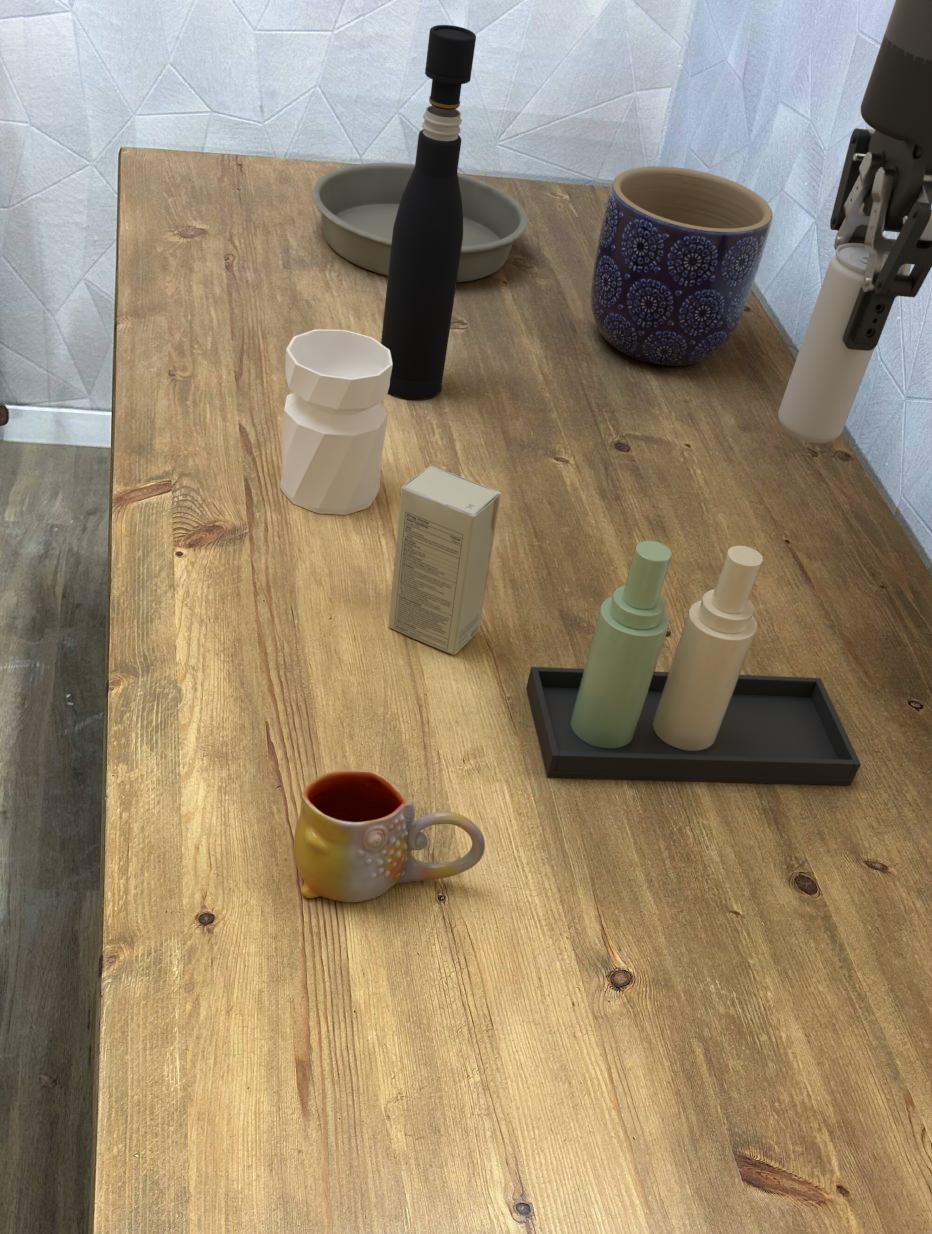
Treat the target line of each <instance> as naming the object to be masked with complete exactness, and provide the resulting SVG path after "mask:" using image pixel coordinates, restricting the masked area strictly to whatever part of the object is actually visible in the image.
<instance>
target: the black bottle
mask: <svg viewBox="0 0 932 1234" xmlns="http://www.w3.org/2000/svg"><path fill="white" fill-rule="evenodd" d="M476 40H477V35H476V34H475V32H473V31H471V30H470V29H467V28H465V27H461V26H457V25H450V24H437V25H434V26H432V27H430V29H429V35H428V42H427V43H428V44H427V52H426V61H425V70H424V74H425V76H426V77H427V78H428V79H430V80H431V87H430V88H431V89H430V96H429V98H428V99H429V100H428V102H429V104H430V105H428V106H427V107H425V112H424V113H423V114H422V118H423V119H424V121H423V122H422V124H421V127H422V129H421V130H420V131H419V132H418V136H417V146H416V155H415V164H414V165H415V167H414V169H413V172H412V174H411V176H410V178H409V181H408V183H407V185H406V188H405V190H404V192H403V195H402V198H401V201H400V204H399V208H398V211H397V215H396V219H395V223H394V227H393V234H392V244H391V253H390V263H389V272H388V276H387V283H386V292H385V301H384V310H383V311H384V312H383V318H382V319H383V321H382V329H381V338H380V343H381V344H382V345H383V346H385V347H386V348H388V349H389V350H390V353H391V358H392V363H393V366H392V371H391V377H390V386H389V390H388V393H387V394H388V395H389V394H390V395H391V396H394V397H396V398H400V399H406V400H411V401H415V400H416V401H423V400H428V399H432V398H434V397H436V396H438V395H439V394H440V392H441V391H442V386H443V380H444V373H445V366H446V359H447V353H448V352H447V351H448V345H449V337H450V331H451V324H452V316H453V311H454V302H455V296H456V289H457V283H456V282H457V275H458V268H459V262H460V255H461V248H462V241H463V206H462V198H461V192H460V186H459V180H458V174H457V173H458V170H459V169H458V168H459V163H460V156H461V155H460V154H461V147H462V137H461V136H460V133H461V130H462V129H461V127H460V125H462V121H463V120H462V117H461V116H462V115H461V114H462V113H461V111H459V110H458V108H459V107H460V105H461V93H462V85H465V84H468V83H470V82H471V77H472V72H473V71H472V70H473V62H474V56H475V49H476V42H477V41H476Z"/></svg>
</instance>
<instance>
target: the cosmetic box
mask: <svg viewBox="0 0 932 1234" xmlns="http://www.w3.org/2000/svg"><path fill="white" fill-rule="evenodd" d="M501 494H502V493H501V492H500V491H498V490H497V489H494V488H491V487H488V486H486V485H484V484H482V483H478V482H476V481H473V480H471V479H469V478H466V477H463V476H461V475H457V474H455V473H452V472H449V471H447V470H444V469H441V468H439V467H436V466H434V465H429V466H428V467H426V468H425V469H424V470H422V471H420V472H419V473H418V474H416V475H415V476H413V477H412V478H411V479H410V480H408V481H407V482H405V483H404V484H403V485H402V486H401V492H400V500H399V501H400V502H399V511H398V512H399V513H398V521H397V532H396V543H395V552H394V562H393V563H394V564H393V574H392V584H391V593H390V603H389V613H388V624H387V625H388V628H390V629H391V630H393V631H395V632H398V633H400V634H403V635H404V636H407V637H409V638H412V639H414V640H416V641H419V642H421V643H424V644H425V645H428V646H431V648H435V649H437V650H440V651H442V652H444V653H448V654H450V655H453V656H455V655H457V653H458V652H459V651H460V650H462V648H464V647H465V646H466V645H467V644H468V643H469V642H470V641H471V640H472V639H473V638H474V637H475V636H476V635H477V634H478V632H479V631H480V627H481V621H482V616H483V615H482V614H483V610H484V609H483V608H484V604H485V603H484V602H485V596H486V590H487V583H488V576H489V570H490V565H491V558H492V551H493V546H494V539H495V534H496V533H495V532H496V526H497V520H498V513H499V508H500V507H499V506H500V501H501V500H500V499H501Z"/></svg>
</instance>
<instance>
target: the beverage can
mask: <svg viewBox="0 0 932 1234" xmlns="http://www.w3.org/2000/svg"><path fill="white" fill-rule="evenodd" d="M889 253H890V252H887V253H885V255H884V257H883V262H882V266H881V269H882V267H883V265H884V263H885V261H886V259H887V257H888V255H889ZM868 258H869V251H868V250H867V249H866V248H865V245H864V244H862V243H847V244H842V245H840V246H838V248H837V249H836V250H835V255H833V256H832V258H831V259H830V261H829V263H828V266H827V268H826V272H825V275H824V278H823V281H822V284H821V287H820V289H819V292H818V295H817V298H816V301H815V304H814V307H813V310H812V313H811V315H810V318H809V321H808V325H807V327H806V331H805V333H804V336H803V339H802V342H801V345H800V348H799V350H798V354H797V355H796V356H797V357H796V360H795V362H794V365H793V368H792V371H791V374H790V377H789V380H788V383H787V386H786V389H785V392H784V394H783V397H782V399H781V400H782V401H781V403H780V406H779V409H778V412H777V416H778V417H777V418H778V422H779V425H780V426H781V428H782V429H783V431H784V432H786V433H787V434H788V435H790V436H792V437H793V438H795V439H797V440H799V441H803V442H807V443H811V444H827V443H830V442H833V441H834V440H836V439H837V438H838V437H839V436H841V435H842V433H843V431H844V429H845V426H846V423H847V420H848V418H849V416H850V413H851V411H852V408H853V405H854V403H855V400H856V398H857V395H858V392H859V389H860V387H861V384H862V382H863V379H864V376H865V374H866V371H867V369H868V366H869V364H870V361H871V359H872V356H873V353H874V351H875V349H876V347H875V348H874V349H873V350H870V351H864V350H853V349H848V348H847V347H846V346H845V344H844V342H843V335H844V333H845V330H846V327H847V324H848V322H849V319H850V316H851V313H852V311H853V308H854V305H855V302H856V300H857V297H858V294H859V291H860V289H861V288H863V280H864V275H865V271H866V267H867V262H868ZM880 271H881V270H880Z"/></svg>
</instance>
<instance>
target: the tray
mask: <svg viewBox="0 0 932 1234" xmlns="http://www.w3.org/2000/svg"><path fill="white" fill-rule="evenodd" d="M583 672H584V668H576V667H575V668H574V667H548V666H531V667H530V670H529V673H528V679H527V683H526V686H525V690H526V694H527V698H528V702H529V706H530V711H531V715H532V720H533V723H534V727H535V732H536V737H537V740H538V745H539V749H540V752H541V753H540V754H541V757H542V761H543V766H544V770H545V774H546V778H556V779H557V778H559V779H595V780H597V779H598V780H631V781H632V780H634V781H667V782H669V781H671V782H674V781H675V782H708V783H711V782H712V783H743V784H744V783H745V784H747V783H748V784H781V785H783V784H786V785H788V784H789V785H819V786H820V785H821V786H822V785H823V786H852V783H853V781H854V779H855V778H856V776H857V773H858V771H859V769H860V768H861V765H862V764H861V761H860V759H859V757H858V755H857V752H856V751H855V749H854V747H853V744H852V742H851V740H850V738H849V735H848V734H847V731H846V729H845V727H844V725H843V723H842V721H841V719H840V717H839V714H838V712H837V710H836V707H835V706H834V704H833V702H832V700H831V697H830V695H829V693H828V691H827V689H826V687H825V684H824V683H823V680H822V678H821V677H804V676H803V677H802V676H779V675H778V676H776V675H756V674H755V675H751V674H740V676H739V678H738V681H737V684H736V686H735V689H734V692H733V694H732V697H731V700H730V702H729V705H728V708H727V710H726V713H725V716H724V718H723V721H722V724H721V726H720V729H719V732H718V734H717V737H716V740H715V742H714V743H713V744H712V745H711V746H710V747H708V748H706V749H704V750H700V751H686V750H681V749H678V748H675V747H672V746H670V745H668V744H667V743H665V742H664V741H662V740H661V739H660V738H659V737H658V736H657V734H656V733H655V731H654V728H653V720H654V716H655V713H656V710H657V707H658V704H659V701H660V698H661V695H662V692H663V689H664V686H665V683H666V680H667V677H668V674H669V671H654V674H653V678H652V681H651V684H650V687H649V690H648V693H647V697H646V700H645V703H644V706H643V709H642V712H641V716H640V719H639V722H638V725H637V728H636V731H635V735H634V737H633V739H632V741H631V742H630V743H628V744H627V745H625V746H623V747H619V748H613V749H607V748H600V747H596V746H593V745H590V744H588V743H586V742H584V741H583V740H581V739H580V738H579V737H578V736H577V735H576V734H575V733H574V731H573V730H572V727H571V717H572V713H573V709H574V706H575V702H576V698H577V694H578V691H579V687H580V683H581V679H582V676H583Z"/></svg>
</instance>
